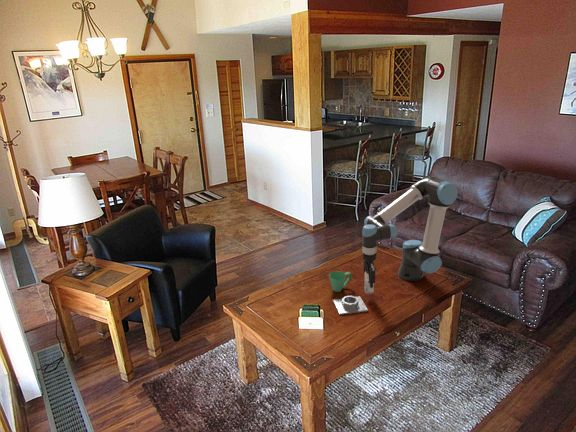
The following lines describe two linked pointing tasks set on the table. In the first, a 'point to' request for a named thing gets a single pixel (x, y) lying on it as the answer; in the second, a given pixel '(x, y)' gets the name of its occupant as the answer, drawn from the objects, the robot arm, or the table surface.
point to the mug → (339, 280)
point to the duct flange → (350, 305)
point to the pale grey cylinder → (367, 283)
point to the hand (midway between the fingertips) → (369, 288)
